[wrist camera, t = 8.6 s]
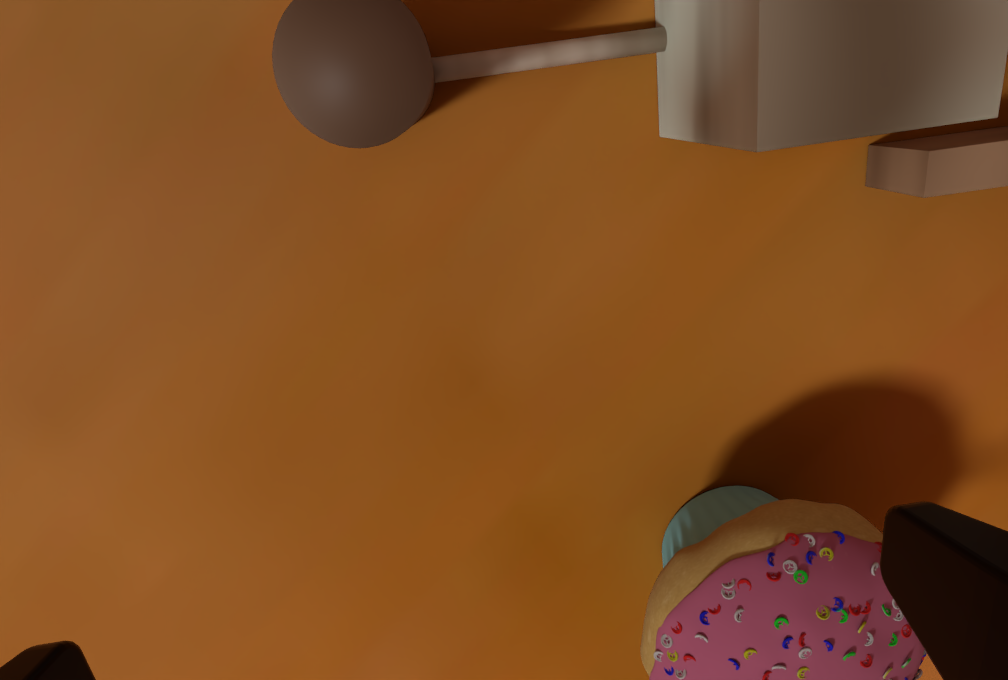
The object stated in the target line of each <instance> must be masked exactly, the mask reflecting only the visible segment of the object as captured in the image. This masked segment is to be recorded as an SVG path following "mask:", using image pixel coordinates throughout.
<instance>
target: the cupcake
mask: <svg viewBox="0 0 1008 680" xmlns="http://www.w3.org/2000/svg"><path fill="white" fill-rule="evenodd" d="M882 539H883V534H882V533H881V532H880V531H879V530H878V529H877V528H876V527H875V526H873V525H872V524H871V523H870V522H869V521H868V520H866V519H865V518H864V517H863V516H861V515H860V514H859V513H857V512H856V511H854V510H853V509H851V508H849V507H847V506H844V505H841V504H836V503H819V502H813V501H807V500H800V499H783V500H778V499H776V498H775V497H773V496H771V495H770V494H768V493H766V492H764V491H762V490H759V489H756V488H753V487H747V486H725V487H720V488H716V489H713V490H710V491H707V492H705V493H703V494H701V495H699V496H697V497H695V498H694V499H692V500H691V501H689V502H688V503H687V504H686V505H684V506H683V507H682V508H681V509H680V510H679V511H678V512H677V513H676V515H675V516H674V517H673V519H672V520H671V522H670V523H669V525H668V527H667V529H666V532H665V535H664V538H663V543H662V558H663V570H662V571H661V572H660V574H659V576H658V578H657V580H656V582H655V584H654V587H653V589H652V591H651V593H650V596H649V599H648V604H647V609H646V614H645V619H644V626H643V634H642V641H641V659H642V663H643V665H644V667H645V670H646V671H647V673H648V675H649V677H650V678H649V680H916V679H918V678H920V677H921V675H922V673H923V672H922V670H921V669H919V666H920V665H921V663H922V661H923V660H924V657H925V656H926V651H925V649H924V648H923V646H922V644H921V643H920V641H919V640H918V638H917V636H916V635H915V633H914V632H913V630H912V628H911V627H910V625H909V623H908V622H907V620H906V619H905V617H904V615H903V614H902V612H901V611H900V609H899V607H898V606H897V604H896V602H895V601H894V599H893V598H892V596H891V594H890V593H889V591H888V589H887V588H886V586H885V584H884V581H883V579H882V575H881V571H880V556H881V548H882ZM918 673H919V674H918ZM917 674H918V676H917Z"/></svg>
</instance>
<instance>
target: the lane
mask: <svg viewBox="0 0 1008 680" xmlns="http://www.w3.org/2000/svg"><path fill="white" fill-rule="evenodd" d="M865 186H867V187H872V188H877V189H882V190H887V191H892V192H897V193H902V194H908V195H913V196H918V197H923V198H926V197H933V196H940V195H947V194H954V193H961V192H968V191H975V190H982V189H989V188H996V187H1003V186H1008V126H1004V127H997V128H989V129H982V130H975V131H968V132H961V133H953V134H946V135H939V136H932V137H924V138H917V139H910V140H903V141H895V142H888V143H881V144H874V145H869V149H868V161H867V173H866V185H865Z"/></svg>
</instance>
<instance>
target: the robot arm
mask: <svg viewBox="0 0 1008 680" xmlns="http://www.w3.org/2000/svg"><path fill="white" fill-rule="evenodd" d="M880 571H881V575H882V579H883V581H884V584H885V586H886V588H887V589H888V591H889V593H890V594H891V596H892V598H893V599H894V601H895V602H896V604H897V606H898V607H899V609H900V611H901V612H902V614H903V615H904V617H905V619H906V620H907V622H908V623H909V625H910V627H911V628H912V630H913V632H914V633H915V635H916V636H917V638H918V640H919V641H920V643H921V644H922V646H923V648H924V649H925V651H926V653H927V654H928V656H929V657H930V659H931V661H932V662H933V664H934V665H935V667H936V669H937V670H938V672H939V674H940V675H941V677H942V678H943V680H1008V531H1005V530H1003V529H1000V528H997V527H995V526H992V525H990V524H987V523H984V522H982V521H979V520H976V519H974V518H971V517H969V516H966V515H963V514H961V513H958V512H955V511H953V510H950V509H947V508H945V507H942V506H940V505H937V504H934V503H931V502H915V503H909V504H903V505H897V506H894V507H892V508H890V509H889V510H888V512H887V513H886V516H885V522H884V530H883V539H882V548H881V556H880ZM0 680H96V679H95V677H94V675H93V673H92V671H91V669H90V667H89V665H88V663H87V661H86V659H85V657H84V654H83V652H82V650H81V649H80V647H79V646H78V645H77V644H75V643H74V642H72V641H60V642H54V643H48V644H42V645H36V646H33V647H30V648H28V649H26V650H24V651H23V652H21V653H20V654H18V655H17V656H16V657H14V658H13V659H12V660H10V661H9V662H7V663H6V664H5V665H3V666H2V667H0Z"/></svg>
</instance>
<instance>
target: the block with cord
mask: <svg viewBox="0 0 1008 680" xmlns="http://www.w3.org/2000/svg"><path fill="white" fill-rule="evenodd" d="M655 23H656V28H650V29H642V30H635V31H627V32H620V33H612V34H605V35H597V36H590V37H583V38H575V39H568V40H560V41H553V42H545V43H538V44H531V45H523V46H516V47H508V48H501V49H493V50H486V51H479V52H471V53H464V54H456V55H449V56H441V57H434V58H431V55H430V51H429V47H428V43H427V40H426V38H425V35H424V33H423V30H422V28H421V26H420V24H419V23H418V21H417V20H416V18H415V16H414V15H413V14H412V12H411V11H410V10H409V9H408V8H407V6H406V5H405V4H404V3H403V2H402V1H401V0H293V1H292V2H291V3H290V5H289V6H288V7H287V9H286V10H285V12H284V13H283V15H282V17H281V19H280V21H279V24H278V26H277V29H276V32H275V37H274V42H273V52H272V58H273V69H274V75H275V79H276V83H277V86H278V89H279V91H280V93H281V96H282V98H283V100H284V101H285V103H286V105H287V107H288V108H289V110H290V111H291V112H292V114H293V115H294V116H295V117H296V119H297V120H298V121H299V122H300V123H301V124H302V125H303V126H304V127H306V128H307V129H308V130H309V131H311V132H312V133H314V134H315V135H317V136H318V137H320V138H322V139H324V140H326V141H328V142H330V143H333V144H336V145H339V146H344V147H349V148H368V147H373V146H378V145H381V144H384V143H387V142H389V141H391V140H393V139H395V138H396V137H398V136H399V135H401V134H402V133H403V132H405V131H406V130H407V129H408V128H410V127H411V126H412V125H413V124H415V123H416V122H417V121H418V120H419V119H420V118H421V117H422V116H423V115H424V113H425V112H426V110H427V109H428V107H429V105H430V103H431V100H432V97H433V94H434V88H435V83H437V82H444V81H452V80H459V79H466V78H474V77H481V76H488V75H496V74H503V73H510V72H518V71H525V70H532V69H540V68H547V67H554V66H562V65H569V64H576V63H584V62H591V61H598V60H606V59H613V58H621V57H628V56H635V55H643V54H650V53H657V78H658V105H659V132H660V137H665V138H671V139H678V140H684V141H690V142H696V143H703V144H709V145H715V146H722V147H728V148H734V149H740V150H747V151H753V152H761V151H768V150H775V149H782V148H789V147H796V146H803V145H810V144H817V143H824V142H831V141H838V140H845V139H852V138H859V137H866V136H873V135H880V134H887V133H894V132H901V131H908V130H915V129H922V128H929V127H935V126H942V125H949V124H956V123H963V122H970V121H977V120H984V119H991V118H998V113H999V106H1000V99H1001V93H1002V86H1003V79H1004V72H1005V66H1006V59H1007V52H1008V0H655Z"/></svg>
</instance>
